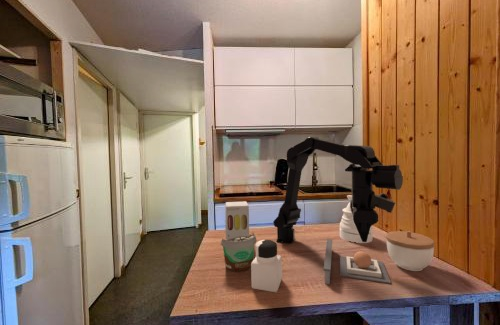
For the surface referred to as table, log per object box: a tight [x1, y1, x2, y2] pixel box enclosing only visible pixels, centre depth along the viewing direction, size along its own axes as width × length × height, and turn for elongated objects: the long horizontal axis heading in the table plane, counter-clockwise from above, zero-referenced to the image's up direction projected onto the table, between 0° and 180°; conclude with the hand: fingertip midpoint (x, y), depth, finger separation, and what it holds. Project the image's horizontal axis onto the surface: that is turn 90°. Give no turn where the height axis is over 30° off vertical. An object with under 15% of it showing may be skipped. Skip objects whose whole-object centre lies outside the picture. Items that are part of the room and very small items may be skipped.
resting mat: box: [339, 255, 392, 285], centre depth 72 cm, size 13×13×2 cm
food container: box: [220, 232, 258, 273], centre depth 74 cm, size 12×6×10 cm, turn 117°
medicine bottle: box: [250, 239, 283, 293], centre depth 65 cm, size 7×7×12 cm
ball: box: [353, 250, 372, 269], centre depth 72 cm, size 5×5×5 cm
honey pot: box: [339, 194, 373, 244], centre depth 99 cm, size 13×13×18 cm
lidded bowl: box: [385, 230, 435, 272], centre depth 73 cm, size 13×13×11 cm
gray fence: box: [323, 238, 333, 286], centre depth 75 cm, size 2×24×4 cm, turn 159°
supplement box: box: [224, 200, 250, 240], centre depth 95 cm, size 10×9×17 cm
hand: (362, 236), depth 71 cm, fingers open, 9 cm apart
